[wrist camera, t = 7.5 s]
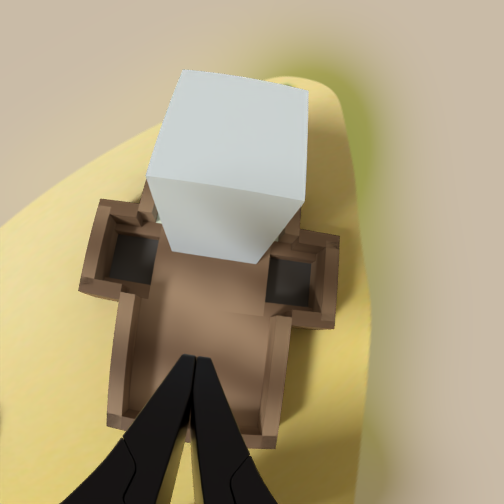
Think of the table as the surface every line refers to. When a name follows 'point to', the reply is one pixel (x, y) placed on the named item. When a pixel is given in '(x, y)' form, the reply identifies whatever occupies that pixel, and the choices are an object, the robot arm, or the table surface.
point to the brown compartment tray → (206, 311)
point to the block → (229, 164)
